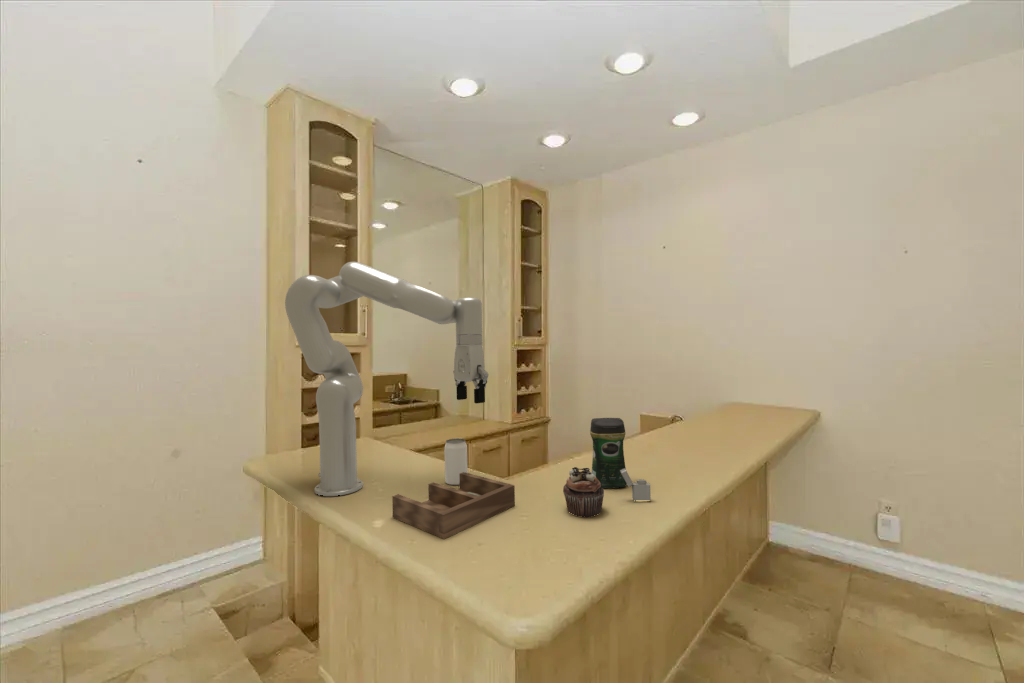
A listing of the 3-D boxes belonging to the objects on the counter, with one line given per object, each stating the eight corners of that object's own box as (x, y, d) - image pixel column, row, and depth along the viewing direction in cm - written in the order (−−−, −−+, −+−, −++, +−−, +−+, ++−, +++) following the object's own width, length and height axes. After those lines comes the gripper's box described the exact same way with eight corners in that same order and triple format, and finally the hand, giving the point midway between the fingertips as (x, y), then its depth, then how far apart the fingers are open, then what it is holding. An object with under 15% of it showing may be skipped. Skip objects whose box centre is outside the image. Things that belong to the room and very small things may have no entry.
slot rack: (392, 517, 101) (392, 496, 101) (464, 490, 119) (463, 472, 119) (444, 539, 90) (443, 514, 90) (514, 505, 107) (514, 485, 107)
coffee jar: (623, 479, 125) (621, 415, 125) (629, 489, 117) (628, 420, 117) (589, 480, 125) (587, 415, 125) (593, 489, 117) (592, 420, 117)
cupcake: (610, 517, 99) (609, 473, 99) (568, 520, 98) (567, 475, 98) (598, 502, 108) (597, 462, 108) (560, 504, 108) (559, 463, 107)
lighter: (648, 499, 109) (648, 467, 109) (650, 502, 108) (650, 469, 107) (620, 499, 110) (619, 468, 110) (621, 502, 108) (621, 470, 108)
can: (469, 478, 129) (468, 438, 129) (465, 485, 122) (464, 443, 122) (448, 478, 129) (447, 438, 129) (442, 485, 123) (441, 443, 123)
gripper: (443, 341, 129) (444, 399, 129) (474, 341, 115) (475, 405, 115) (465, 341, 133) (466, 397, 134) (497, 340, 120) (498, 403, 120)
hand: (470, 401), depth 124 cm, fingers open, 9 cm apart
